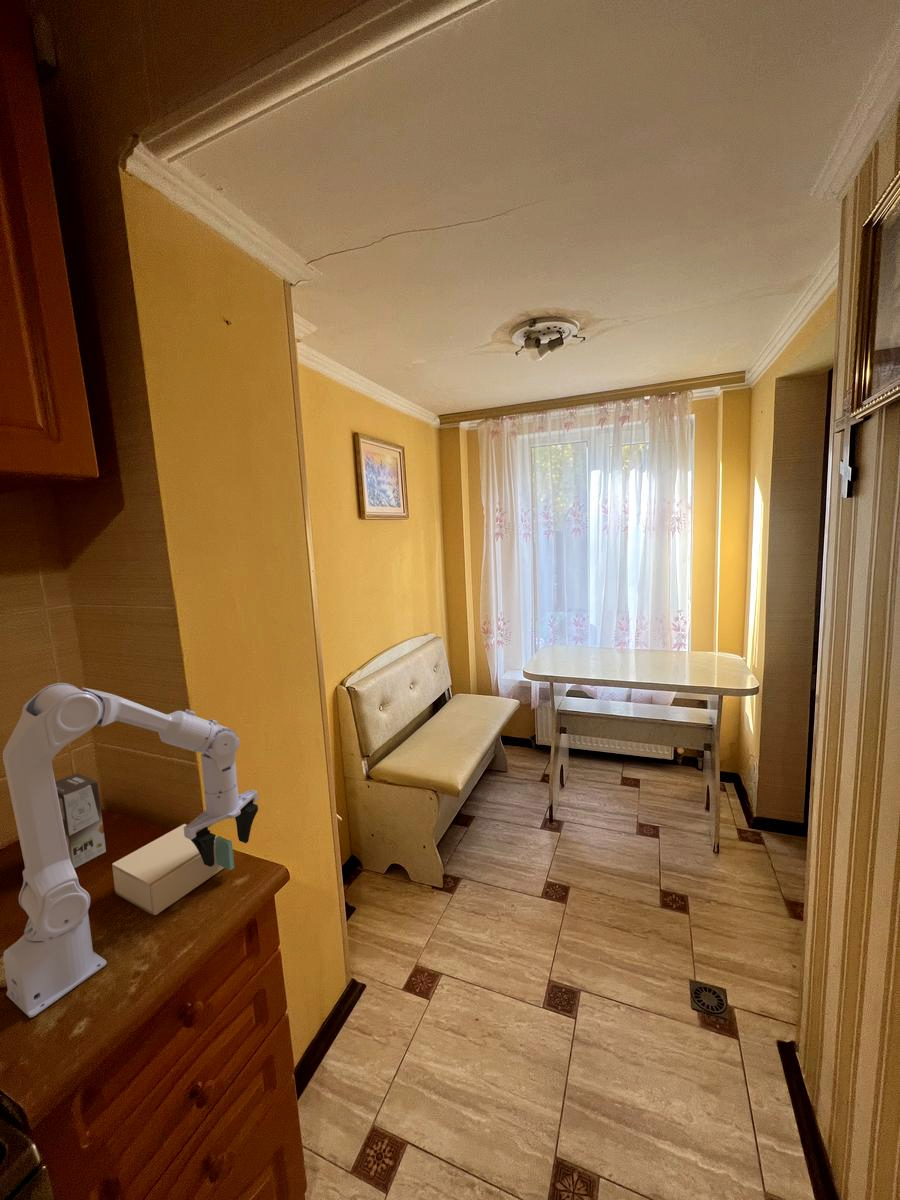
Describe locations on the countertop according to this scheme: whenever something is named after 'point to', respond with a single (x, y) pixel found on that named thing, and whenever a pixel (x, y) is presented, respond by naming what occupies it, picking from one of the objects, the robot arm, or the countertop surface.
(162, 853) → the carton
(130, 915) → the countertop surface
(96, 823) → the coffee box
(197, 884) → the flap
